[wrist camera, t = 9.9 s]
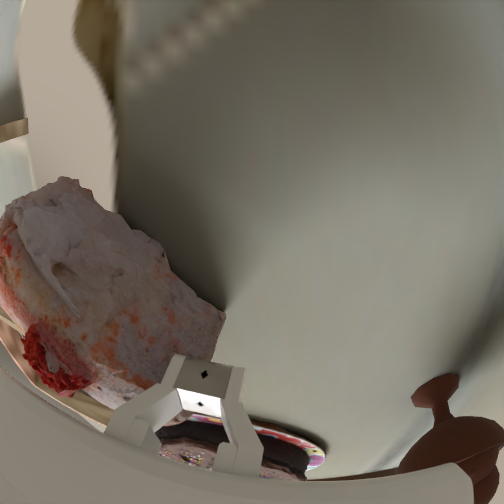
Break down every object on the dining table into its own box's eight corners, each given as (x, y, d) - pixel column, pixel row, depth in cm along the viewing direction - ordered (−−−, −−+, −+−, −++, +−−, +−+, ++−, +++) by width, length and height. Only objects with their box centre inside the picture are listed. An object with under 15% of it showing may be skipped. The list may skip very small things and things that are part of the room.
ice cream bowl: (439, 347, 16) (478, 521, 3) (495, 363, 17) (530, 481, 4) (364, 411, 22) (365, 547, 9) (431, 417, 22) (443, 521, 9)
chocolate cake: (111, 409, 34) (96, 440, 28) (234, 383, 22) (218, 448, 16) (227, 471, 42) (221, 496, 36) (356, 456, 30) (356, 491, 25)
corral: (-43, 148, 14) (-64, 158, 11) (27, 117, 12) (-9, 128, 9) (42, 372, 34) (33, 385, 31) (126, 415, 32) (118, 432, 29)
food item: (53, 236, 17) (-34, 313, 8) (85, 154, 13) (-53, 226, 5) (181, 349, 20) (135, 457, 12) (249, 302, 17) (208, 457, 8)
